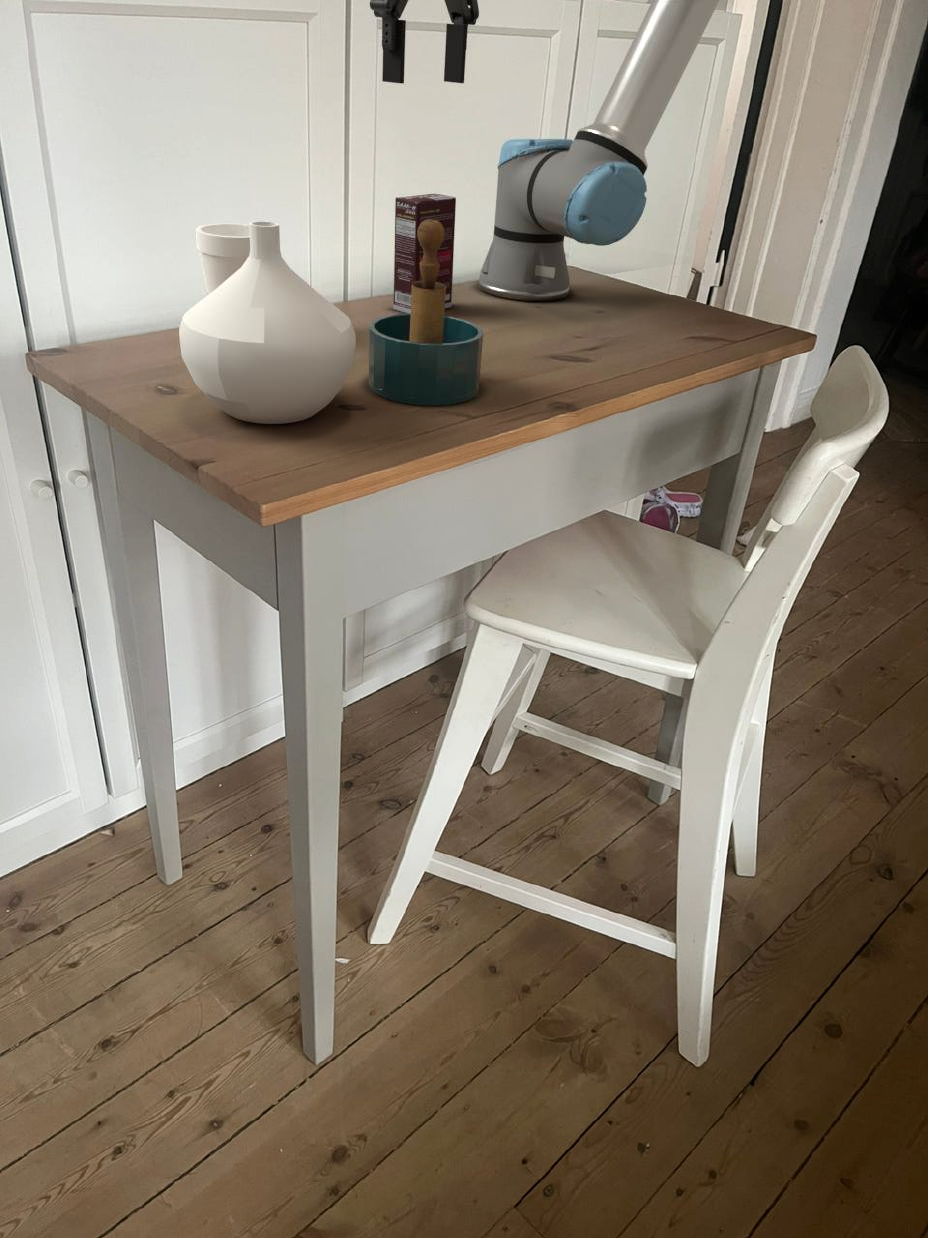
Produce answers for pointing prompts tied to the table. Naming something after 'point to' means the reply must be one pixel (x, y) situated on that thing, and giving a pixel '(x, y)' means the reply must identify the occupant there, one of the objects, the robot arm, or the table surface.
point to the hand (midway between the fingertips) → (424, 82)
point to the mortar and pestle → (428, 288)
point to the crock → (424, 362)
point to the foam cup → (222, 251)
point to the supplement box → (410, 250)
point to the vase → (267, 340)
